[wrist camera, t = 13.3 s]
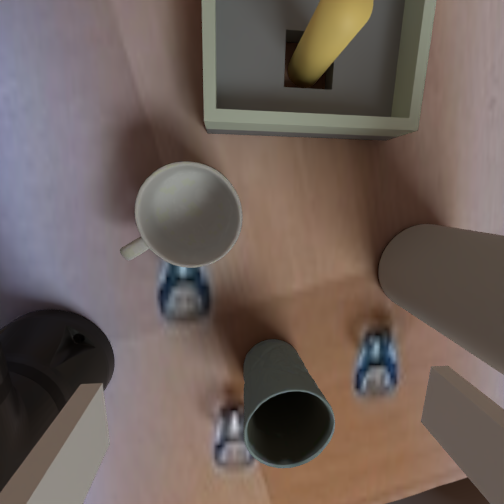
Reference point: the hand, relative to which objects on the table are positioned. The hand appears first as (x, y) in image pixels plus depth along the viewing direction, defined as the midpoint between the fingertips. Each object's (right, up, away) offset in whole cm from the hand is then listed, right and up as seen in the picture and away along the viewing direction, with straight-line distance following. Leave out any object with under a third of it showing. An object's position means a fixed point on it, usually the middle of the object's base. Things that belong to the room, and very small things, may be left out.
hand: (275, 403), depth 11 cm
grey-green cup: (+2, -11, +30) cm, 32 cm away
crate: (+5, +29, +21) cm, 37 cm away
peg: (+5, +28, +22) cm, 36 cm away
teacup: (-10, +11, +24) cm, 28 cm away
